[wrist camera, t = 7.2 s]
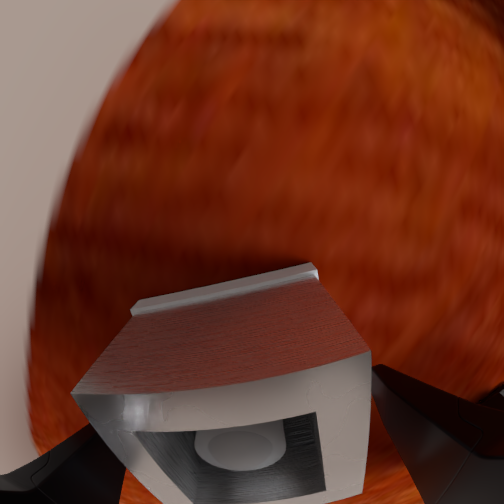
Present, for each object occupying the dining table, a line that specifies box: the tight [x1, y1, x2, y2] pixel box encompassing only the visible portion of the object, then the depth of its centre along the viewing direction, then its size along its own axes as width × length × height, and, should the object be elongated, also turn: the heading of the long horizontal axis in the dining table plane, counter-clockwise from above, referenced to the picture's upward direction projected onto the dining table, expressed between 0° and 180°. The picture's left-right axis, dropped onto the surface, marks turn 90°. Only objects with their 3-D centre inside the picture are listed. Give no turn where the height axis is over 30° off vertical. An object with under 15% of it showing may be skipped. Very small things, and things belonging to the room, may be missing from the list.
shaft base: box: [130, 262, 319, 471], centre depth 9 cm, size 7×7×6 cm
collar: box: [71, 274, 371, 504], centre depth 8 cm, size 7×7×5 cm
